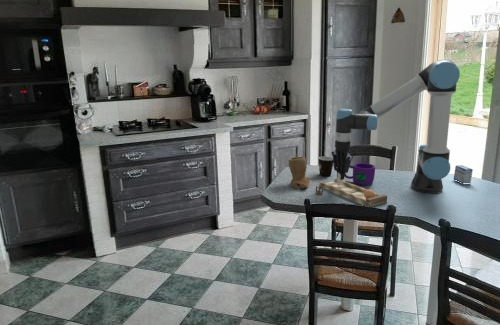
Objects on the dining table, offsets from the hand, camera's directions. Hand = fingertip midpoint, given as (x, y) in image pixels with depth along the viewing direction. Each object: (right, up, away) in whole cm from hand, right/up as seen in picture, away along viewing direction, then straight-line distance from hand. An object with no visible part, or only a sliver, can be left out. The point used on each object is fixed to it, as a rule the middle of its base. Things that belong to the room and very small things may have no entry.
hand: (340, 184), depth 202 cm
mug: (+12, 0, +11) cm, 17 cm away
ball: (+10, -4, -17) cm, 20 cm away
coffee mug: (-3, +4, +25) cm, 26 cm away
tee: (-12, -4, -5) cm, 13 cm away
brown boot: (-20, -1, +8) cm, 22 cm away
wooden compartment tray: (+4, -4, -6) cm, 8 cm away
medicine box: (+69, 0, +11) cm, 70 cm away
